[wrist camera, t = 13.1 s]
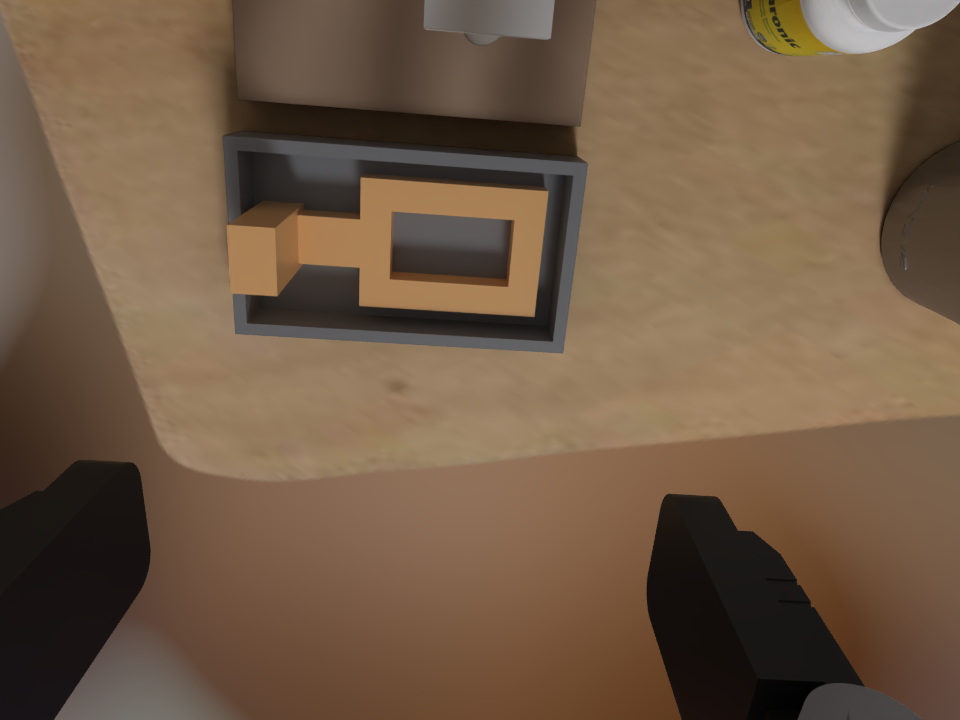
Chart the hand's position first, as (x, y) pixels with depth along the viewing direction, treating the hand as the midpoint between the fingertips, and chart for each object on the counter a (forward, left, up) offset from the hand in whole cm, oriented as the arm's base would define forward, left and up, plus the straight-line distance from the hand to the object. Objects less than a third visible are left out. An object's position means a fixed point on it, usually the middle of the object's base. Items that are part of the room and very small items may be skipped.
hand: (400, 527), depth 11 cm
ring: (+2, +2, -26) cm, 26 cm away
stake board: (+1, -9, -27) cm, 28 cm away
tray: (+1, +2, -27) cm, 27 cm away
